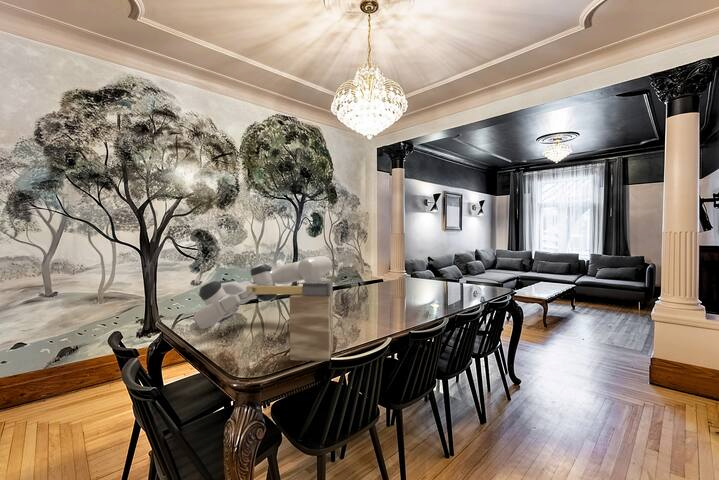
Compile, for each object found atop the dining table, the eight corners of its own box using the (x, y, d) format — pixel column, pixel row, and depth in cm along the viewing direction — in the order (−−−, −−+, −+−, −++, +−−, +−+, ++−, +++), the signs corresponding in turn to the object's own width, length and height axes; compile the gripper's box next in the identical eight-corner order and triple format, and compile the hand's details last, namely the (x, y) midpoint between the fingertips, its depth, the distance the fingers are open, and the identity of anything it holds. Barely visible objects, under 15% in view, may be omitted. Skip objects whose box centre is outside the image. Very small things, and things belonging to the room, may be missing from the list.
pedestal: (297, 349, 143) (297, 291, 143) (333, 350, 142) (332, 291, 142) (290, 360, 131) (289, 297, 131) (328, 360, 130) (328, 297, 130)
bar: (249, 292, 139) (249, 285, 139) (303, 292, 138) (303, 286, 138) (246, 293, 136) (246, 286, 136) (301, 294, 135) (301, 287, 135)
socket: (307, 292, 140) (306, 280, 140) (332, 292, 139) (332, 280, 139) (302, 296, 132) (302, 283, 132) (329, 296, 132) (329, 283, 132)
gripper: (242, 305, 149) (267, 290, 148) (220, 316, 128) (249, 300, 127) (235, 293, 149) (260, 279, 148) (212, 303, 128) (241, 286, 128)
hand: (255, 288), depth 138 cm, fingers open, 6 cm apart
